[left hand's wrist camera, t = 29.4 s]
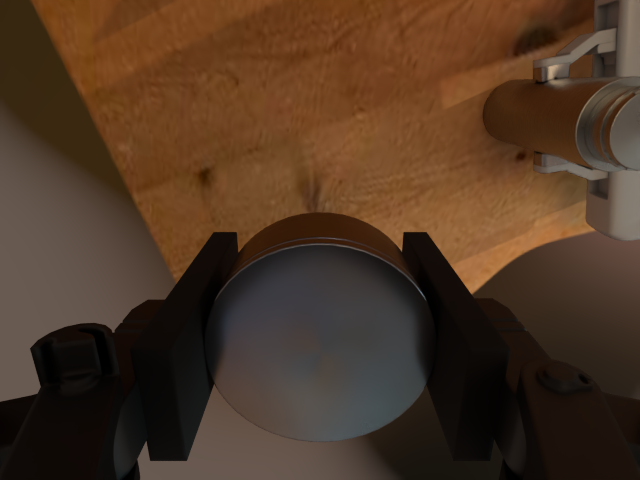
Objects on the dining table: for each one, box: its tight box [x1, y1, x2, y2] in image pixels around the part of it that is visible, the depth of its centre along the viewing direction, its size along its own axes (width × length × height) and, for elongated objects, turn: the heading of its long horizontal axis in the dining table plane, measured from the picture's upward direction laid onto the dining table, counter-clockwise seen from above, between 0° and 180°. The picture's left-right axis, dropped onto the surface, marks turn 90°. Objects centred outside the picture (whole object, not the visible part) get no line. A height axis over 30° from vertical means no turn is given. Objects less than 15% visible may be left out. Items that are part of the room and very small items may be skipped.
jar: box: [483, 76, 640, 172], centre depth 29 cm, size 5×5×16 cm
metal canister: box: [204, 212, 437, 442], centre depth 11 cm, size 6×6×2 cm
